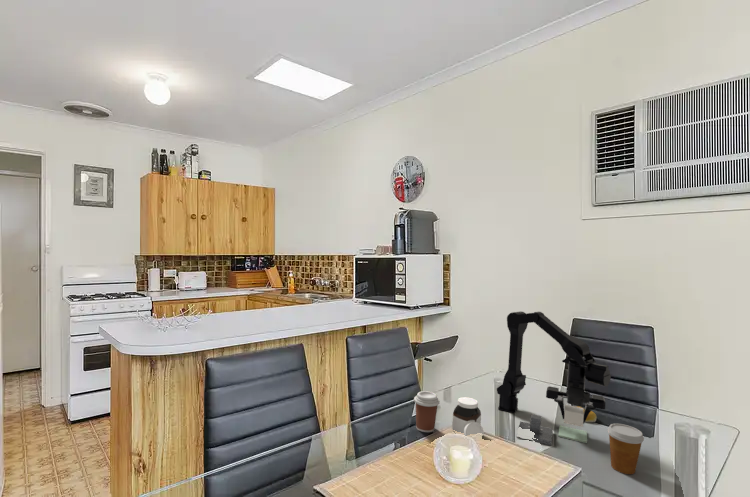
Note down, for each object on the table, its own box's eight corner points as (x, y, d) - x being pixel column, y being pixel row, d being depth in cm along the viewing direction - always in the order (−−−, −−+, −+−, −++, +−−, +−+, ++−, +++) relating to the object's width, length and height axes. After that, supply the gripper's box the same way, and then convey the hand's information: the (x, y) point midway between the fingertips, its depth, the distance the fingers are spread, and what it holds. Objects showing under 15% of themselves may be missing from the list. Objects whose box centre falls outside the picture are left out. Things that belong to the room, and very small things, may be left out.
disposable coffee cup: (598, 460, 131) (601, 422, 131) (627, 460, 132) (629, 423, 131) (618, 477, 121) (621, 437, 121) (649, 477, 122) (652, 437, 122)
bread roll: (591, 425, 157) (592, 414, 157) (567, 416, 164) (568, 406, 164) (600, 419, 163) (600, 409, 163) (576, 412, 170) (577, 402, 169)
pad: (558, 436, 146) (558, 434, 146) (559, 426, 154) (559, 425, 154) (587, 443, 142) (587, 441, 142) (586, 432, 150) (586, 431, 150)
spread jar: (464, 426, 150) (466, 394, 150) (492, 437, 142) (494, 404, 142) (444, 435, 142) (446, 402, 142) (473, 449, 134) (475, 413, 134)
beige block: (563, 422, 146) (564, 410, 146) (564, 416, 152) (565, 404, 152) (582, 427, 144) (583, 414, 144) (582, 420, 149) (583, 408, 149)
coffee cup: (407, 427, 147) (408, 393, 146) (422, 420, 153) (424, 388, 153) (428, 436, 140) (430, 401, 140) (443, 428, 147) (445, 395, 147)
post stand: (516, 437, 143) (517, 418, 143) (520, 425, 153) (521, 407, 153) (550, 445, 139) (552, 426, 139) (552, 432, 149) (553, 414, 148)
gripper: (546, 378, 144) (543, 423, 145) (607, 390, 136) (604, 437, 137) (548, 370, 154) (545, 412, 155) (605, 380, 146) (602, 424, 147)
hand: (573, 421), depth 148 cm, fingers closed on beige block, 6 cm apart
